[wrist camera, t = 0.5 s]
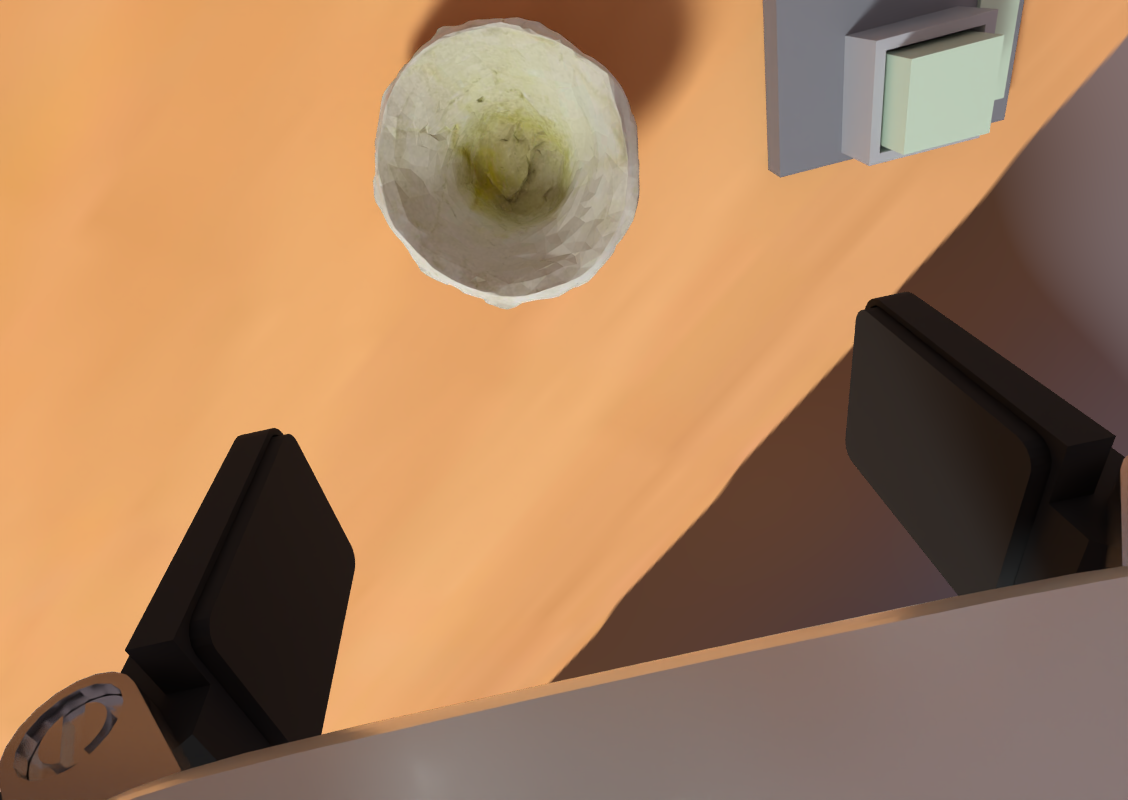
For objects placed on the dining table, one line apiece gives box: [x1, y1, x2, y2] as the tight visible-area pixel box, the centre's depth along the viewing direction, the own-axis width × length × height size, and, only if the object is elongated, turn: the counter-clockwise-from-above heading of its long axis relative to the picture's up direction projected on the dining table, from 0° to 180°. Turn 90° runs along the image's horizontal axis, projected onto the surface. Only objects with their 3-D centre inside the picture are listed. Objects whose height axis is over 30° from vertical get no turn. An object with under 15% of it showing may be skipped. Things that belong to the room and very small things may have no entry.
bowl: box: [373, 17, 639, 309], centre depth 37 cm, size 15×14×10 cm
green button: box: [880, 30, 1005, 155], centre depth 36 cm, size 5×5×3 cm
